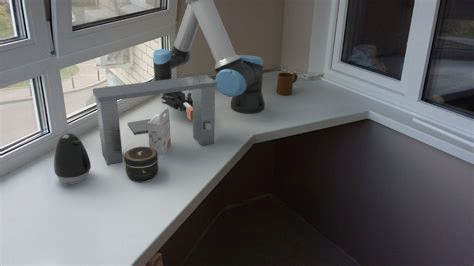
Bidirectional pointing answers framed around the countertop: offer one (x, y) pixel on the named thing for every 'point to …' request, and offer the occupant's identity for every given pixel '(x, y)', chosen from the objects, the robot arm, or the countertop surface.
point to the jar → (141, 163)
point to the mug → (285, 83)
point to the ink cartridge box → (160, 132)
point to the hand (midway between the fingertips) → (191, 111)
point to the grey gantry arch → (109, 95)
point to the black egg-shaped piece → (71, 159)
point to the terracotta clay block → (190, 117)
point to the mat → (139, 126)
